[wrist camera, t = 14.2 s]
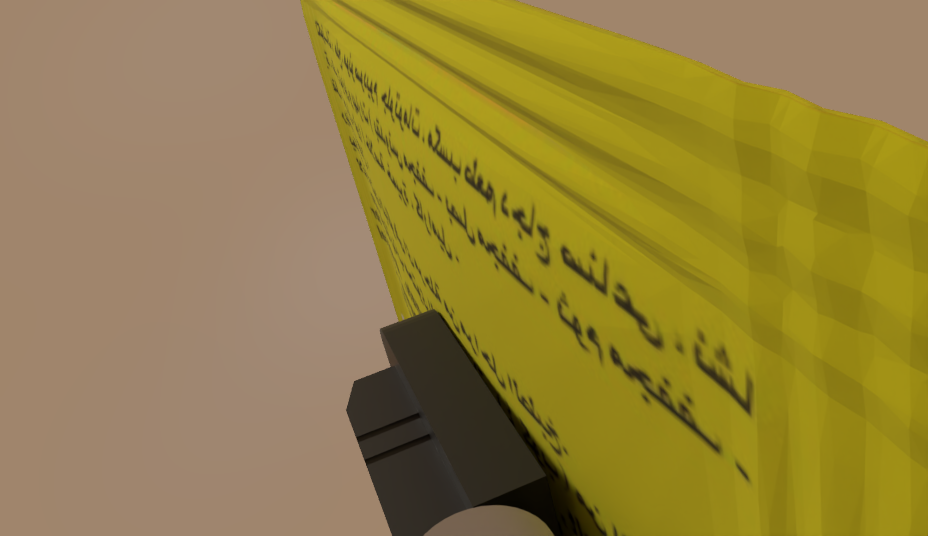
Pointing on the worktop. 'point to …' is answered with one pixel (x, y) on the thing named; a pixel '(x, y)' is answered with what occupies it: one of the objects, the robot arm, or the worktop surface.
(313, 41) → the food package
